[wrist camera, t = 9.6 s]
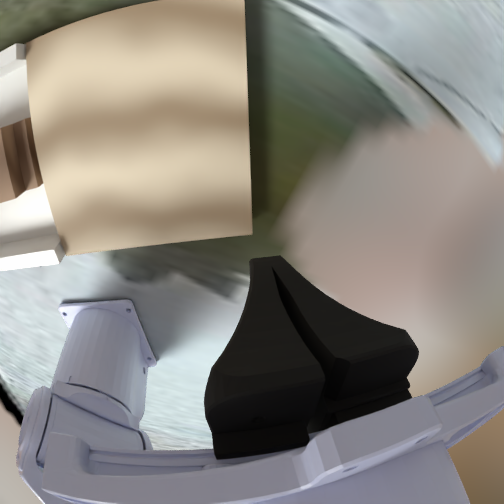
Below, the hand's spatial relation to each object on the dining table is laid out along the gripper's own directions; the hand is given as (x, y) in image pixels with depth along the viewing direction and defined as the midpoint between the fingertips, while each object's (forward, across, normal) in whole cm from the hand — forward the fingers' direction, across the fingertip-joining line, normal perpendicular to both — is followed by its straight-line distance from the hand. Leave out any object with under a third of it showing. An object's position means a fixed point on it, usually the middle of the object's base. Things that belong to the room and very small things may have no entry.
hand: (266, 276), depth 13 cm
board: (+9, +6, -6) cm, 13 cm away
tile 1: (+8, +18, -6) cm, 20 cm away
